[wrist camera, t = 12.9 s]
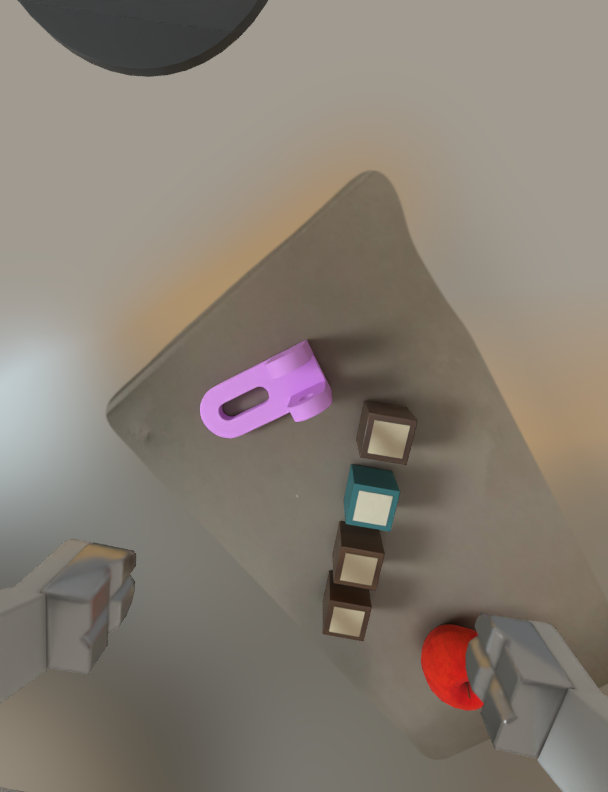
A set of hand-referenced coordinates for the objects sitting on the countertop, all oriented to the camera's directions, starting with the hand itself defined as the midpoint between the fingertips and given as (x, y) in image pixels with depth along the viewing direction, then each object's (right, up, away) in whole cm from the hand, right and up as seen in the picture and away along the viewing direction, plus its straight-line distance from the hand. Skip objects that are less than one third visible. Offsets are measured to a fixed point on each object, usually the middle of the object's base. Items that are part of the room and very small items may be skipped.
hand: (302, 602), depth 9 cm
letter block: (+7, -5, +31) cm, 32 cm away
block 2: (+5, -18, +34) cm, 39 cm away
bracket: (-4, +5, +29) cm, 30 cm away
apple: (+17, -23, +35) cm, 45 cm away
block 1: (+6, -11, +33) cm, 35 cm away
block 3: (+8, +2, +29) cm, 30 cm away
